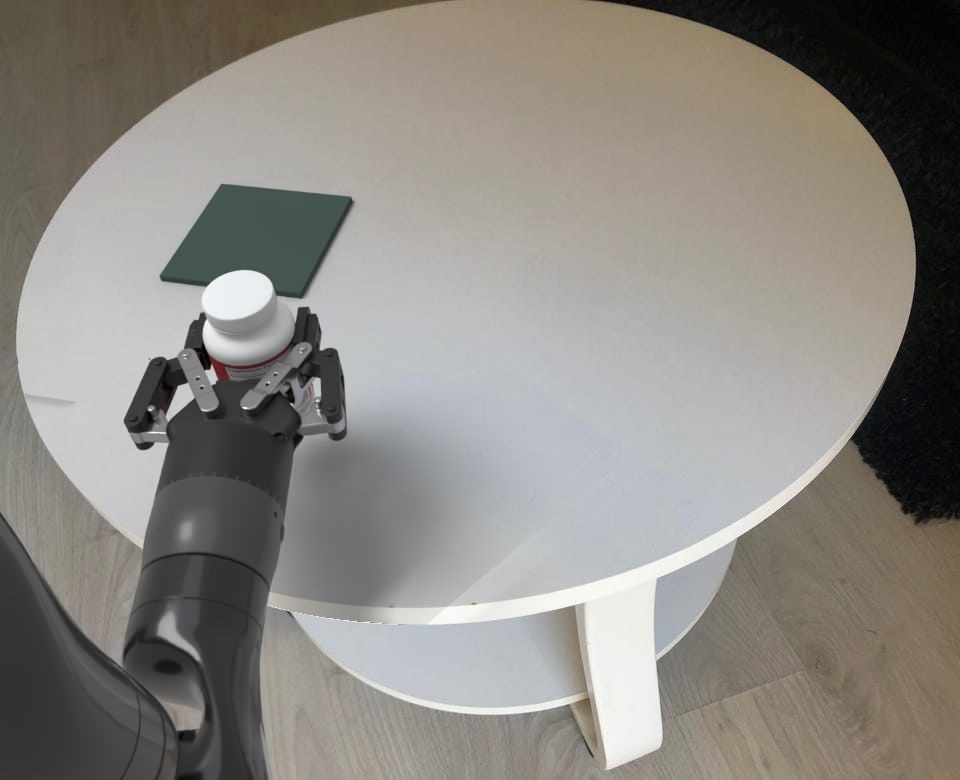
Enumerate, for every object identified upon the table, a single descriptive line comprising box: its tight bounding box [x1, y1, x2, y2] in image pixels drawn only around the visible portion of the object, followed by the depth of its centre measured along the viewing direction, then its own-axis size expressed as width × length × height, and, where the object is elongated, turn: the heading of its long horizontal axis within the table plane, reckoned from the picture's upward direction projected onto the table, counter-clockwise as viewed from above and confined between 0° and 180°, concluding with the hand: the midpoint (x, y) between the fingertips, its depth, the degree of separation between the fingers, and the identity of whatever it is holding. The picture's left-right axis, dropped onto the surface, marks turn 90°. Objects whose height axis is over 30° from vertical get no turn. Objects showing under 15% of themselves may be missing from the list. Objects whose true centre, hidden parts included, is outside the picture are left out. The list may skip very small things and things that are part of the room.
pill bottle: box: [201, 270, 316, 416], centre depth 68 cm, size 6×6×11 cm
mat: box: [159, 183, 353, 299], centre depth 94 cm, size 14×14×1 cm
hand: (257, 318), depth 69 cm, fingers closed on pill bottle, 6 cm apart
